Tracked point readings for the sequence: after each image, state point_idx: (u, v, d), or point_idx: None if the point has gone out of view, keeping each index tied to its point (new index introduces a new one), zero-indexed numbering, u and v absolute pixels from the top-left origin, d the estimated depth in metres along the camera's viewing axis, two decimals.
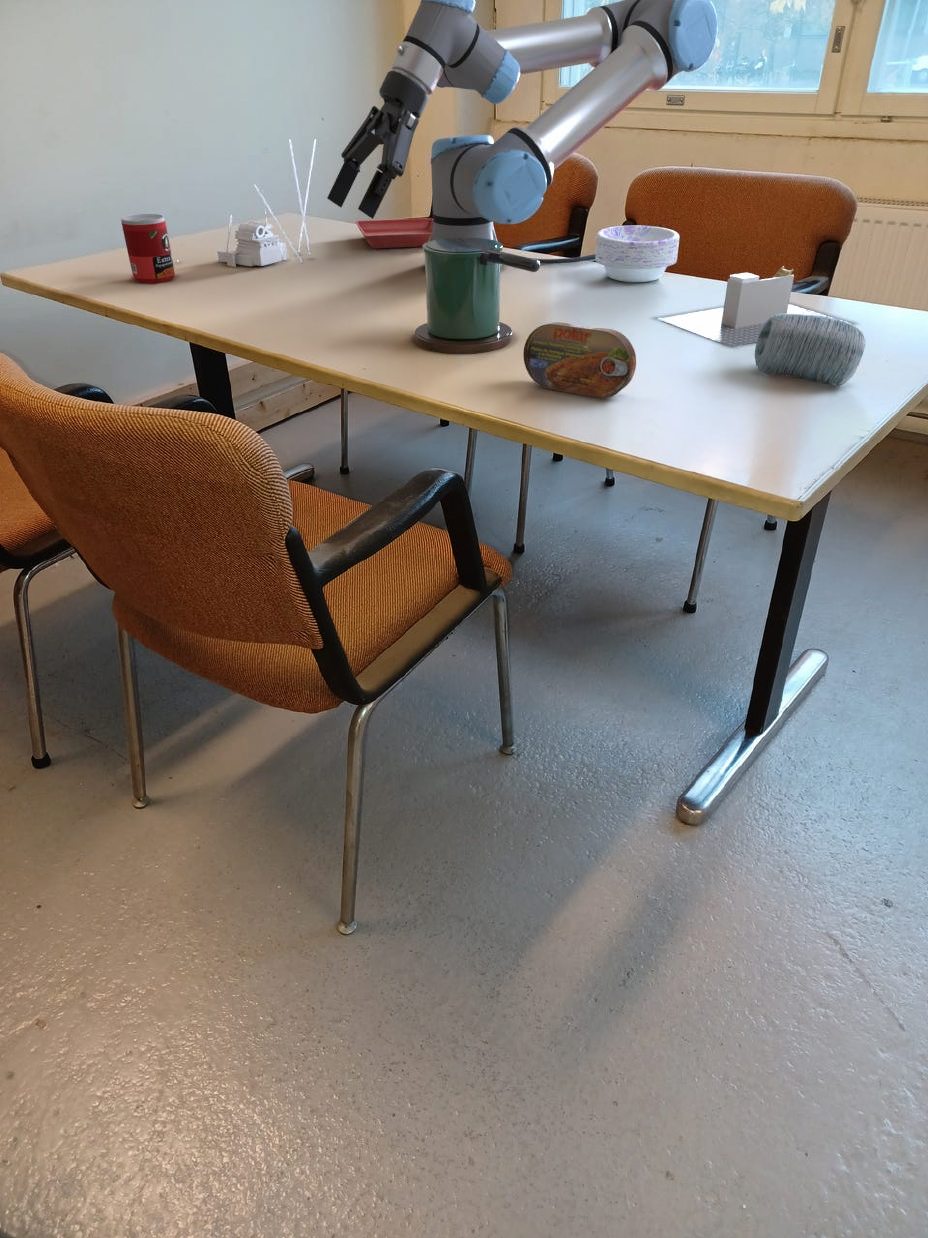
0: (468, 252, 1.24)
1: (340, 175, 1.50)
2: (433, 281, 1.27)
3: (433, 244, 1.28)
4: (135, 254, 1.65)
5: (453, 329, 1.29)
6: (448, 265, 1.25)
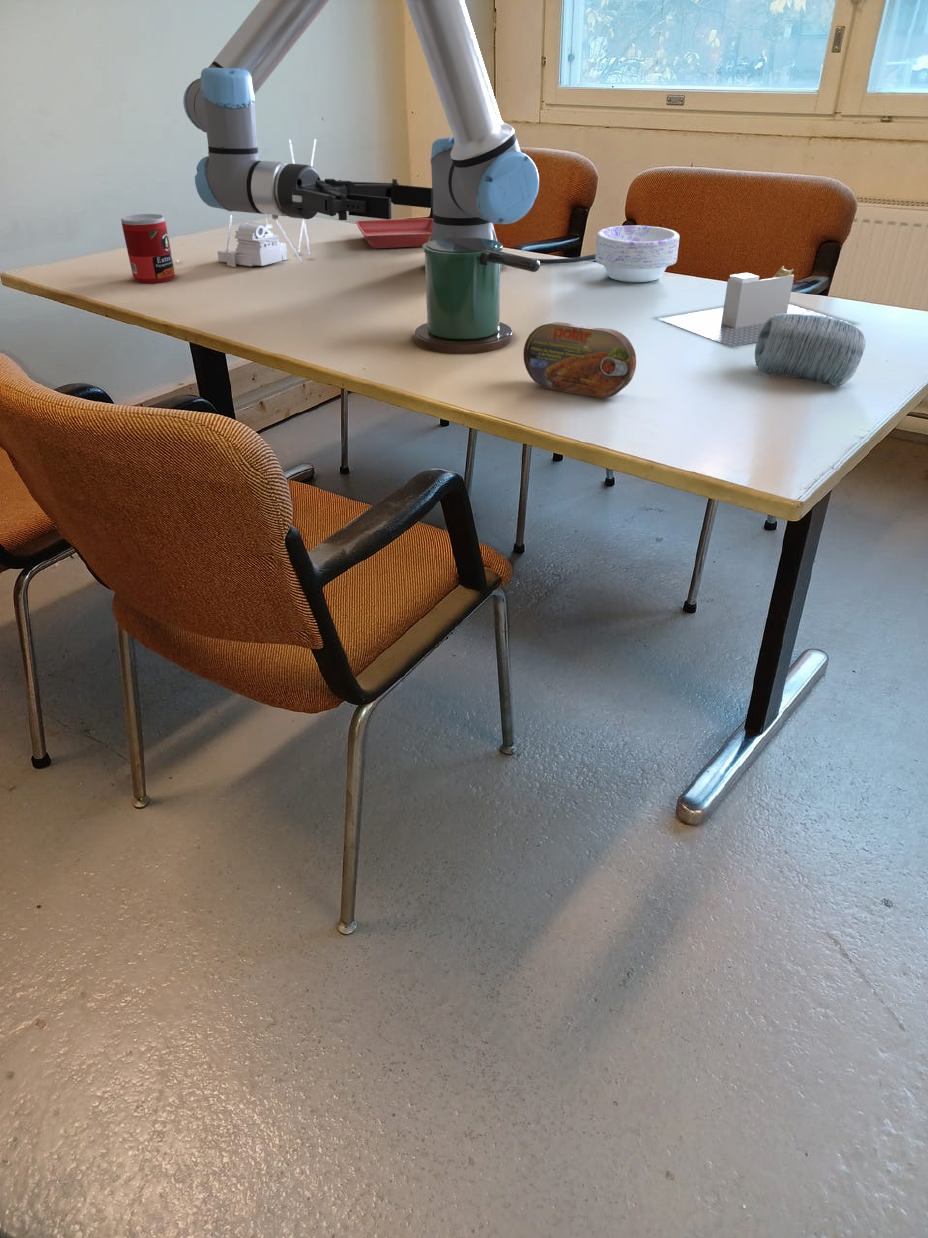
0: (468, 252, 1.24)
1: (406, 204, 1.36)
2: (433, 281, 1.27)
3: (433, 244, 1.28)
4: (135, 254, 1.65)
5: (453, 329, 1.29)
6: (448, 265, 1.25)
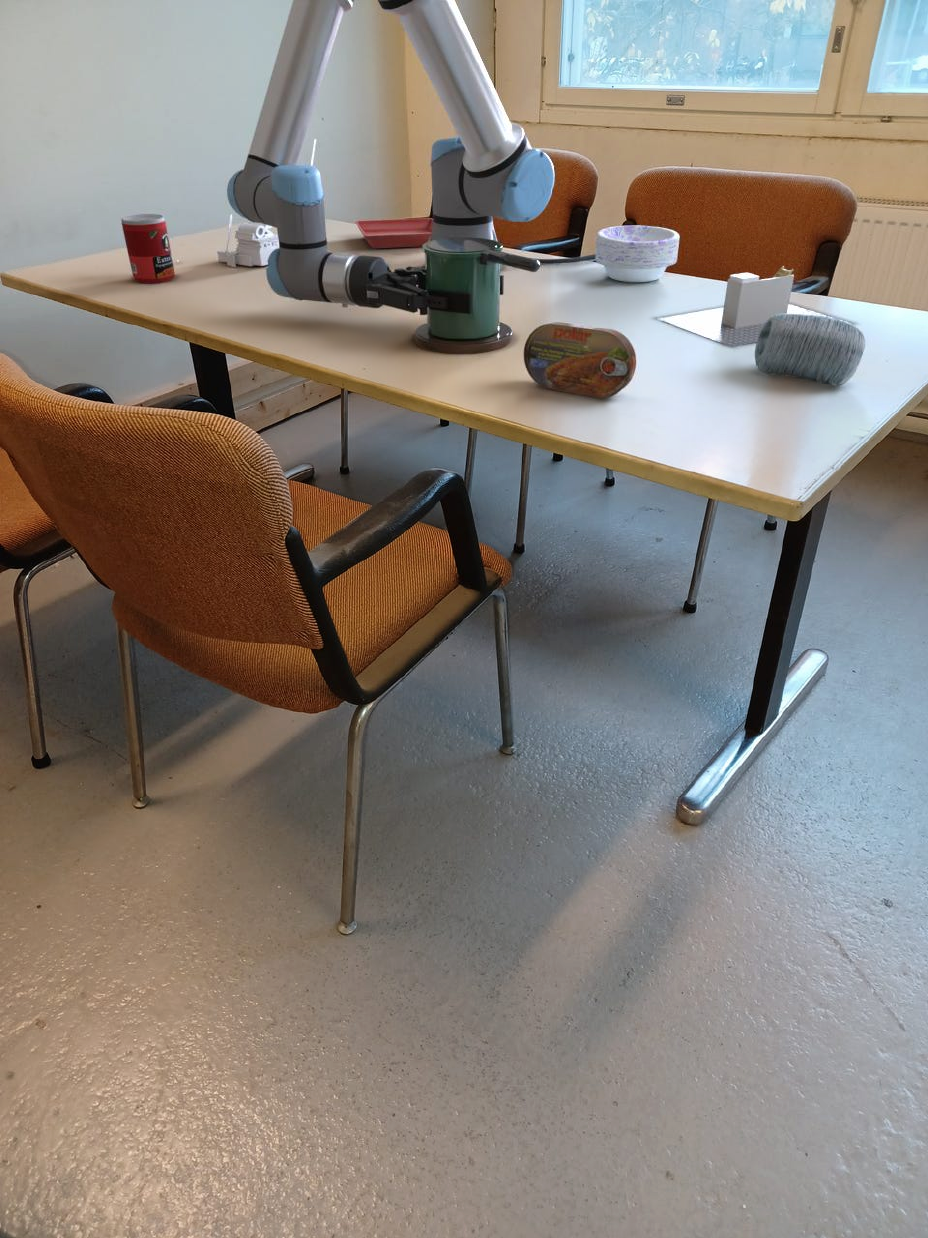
0: (468, 252, 1.24)
1: None
2: (433, 281, 1.27)
3: (433, 244, 1.28)
4: (135, 254, 1.65)
5: (453, 329, 1.29)
6: (448, 265, 1.25)
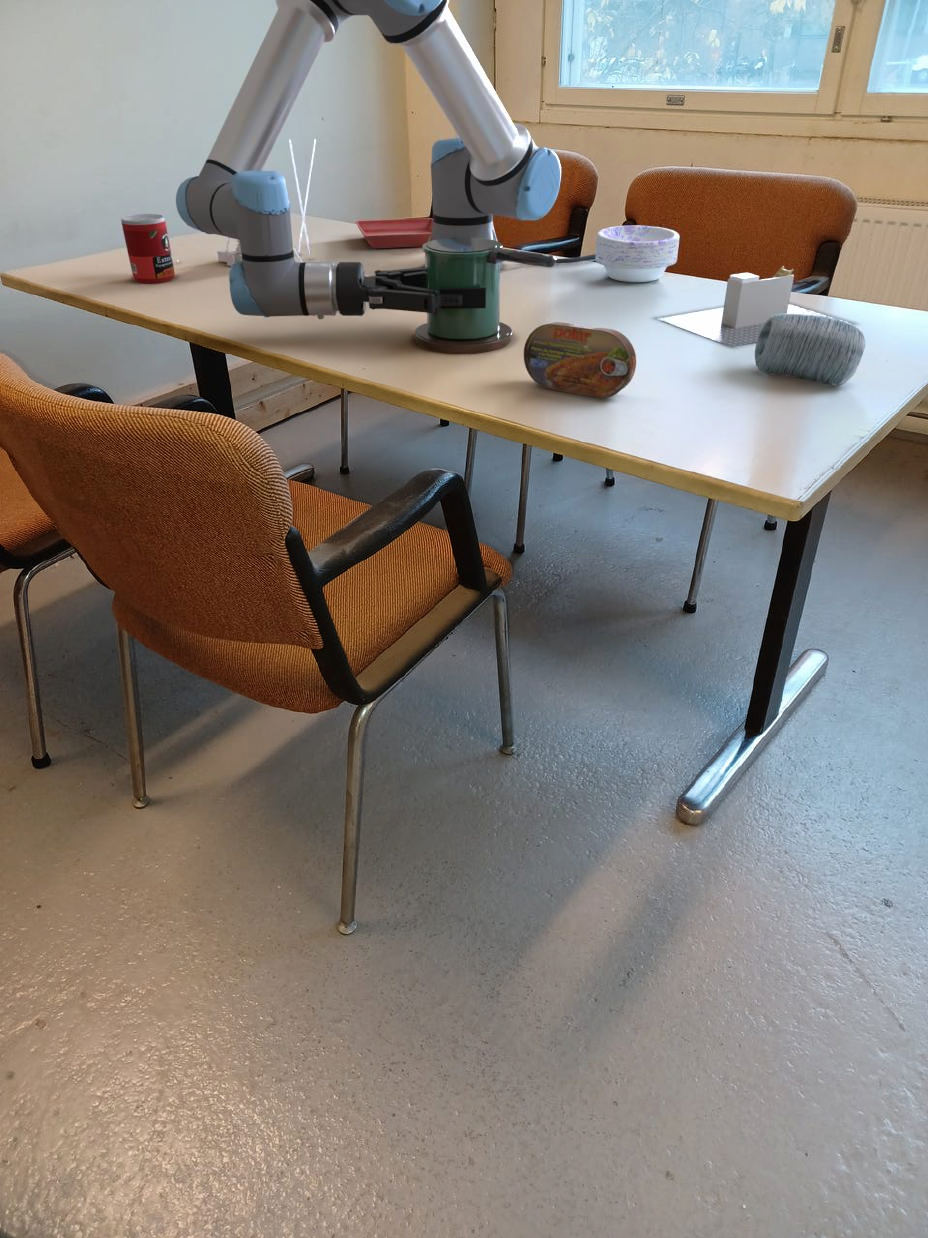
0: (476, 251, 1.24)
1: None
2: (439, 283, 1.27)
3: (433, 245, 1.27)
4: (135, 254, 1.65)
5: (461, 329, 1.29)
6: (457, 265, 1.24)
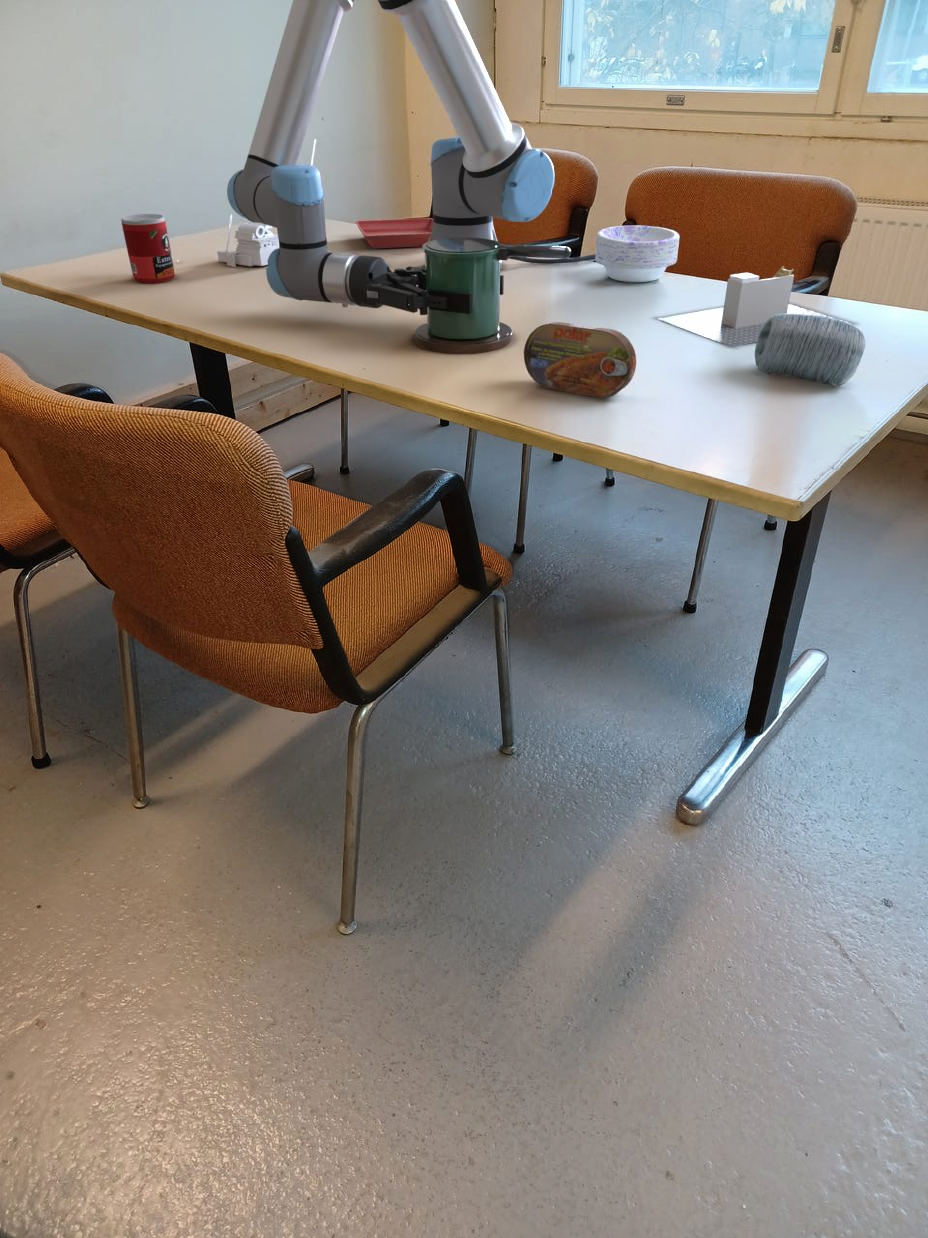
0: (488, 249, 1.25)
1: None
2: (453, 284, 1.26)
3: (438, 248, 1.26)
4: (135, 254, 1.65)
5: (476, 328, 1.30)
6: (473, 265, 1.25)
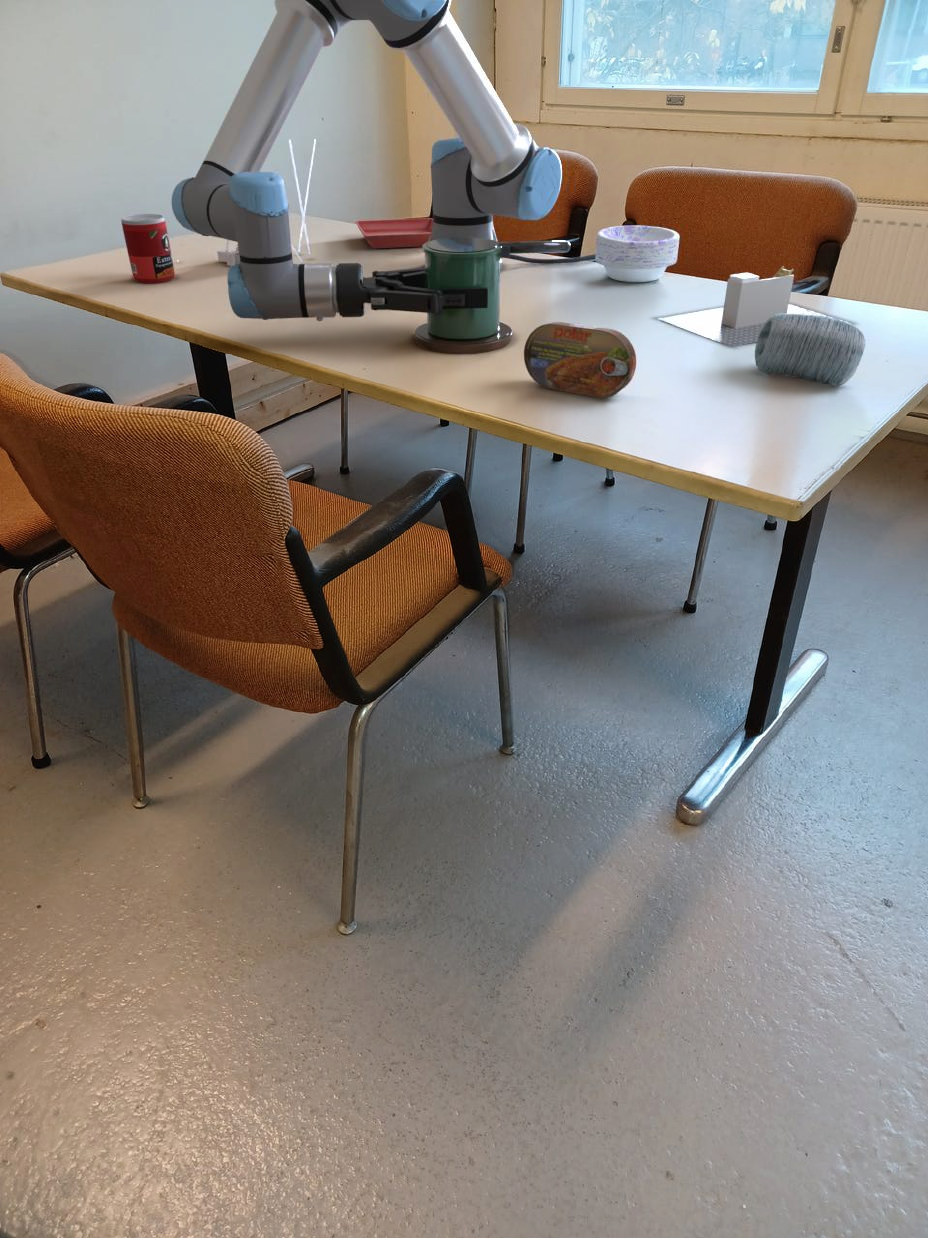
0: (494, 248, 1.26)
1: None
2: (464, 284, 1.26)
3: (443, 249, 1.25)
4: (135, 254, 1.65)
5: (485, 327, 1.30)
6: (483, 264, 1.25)
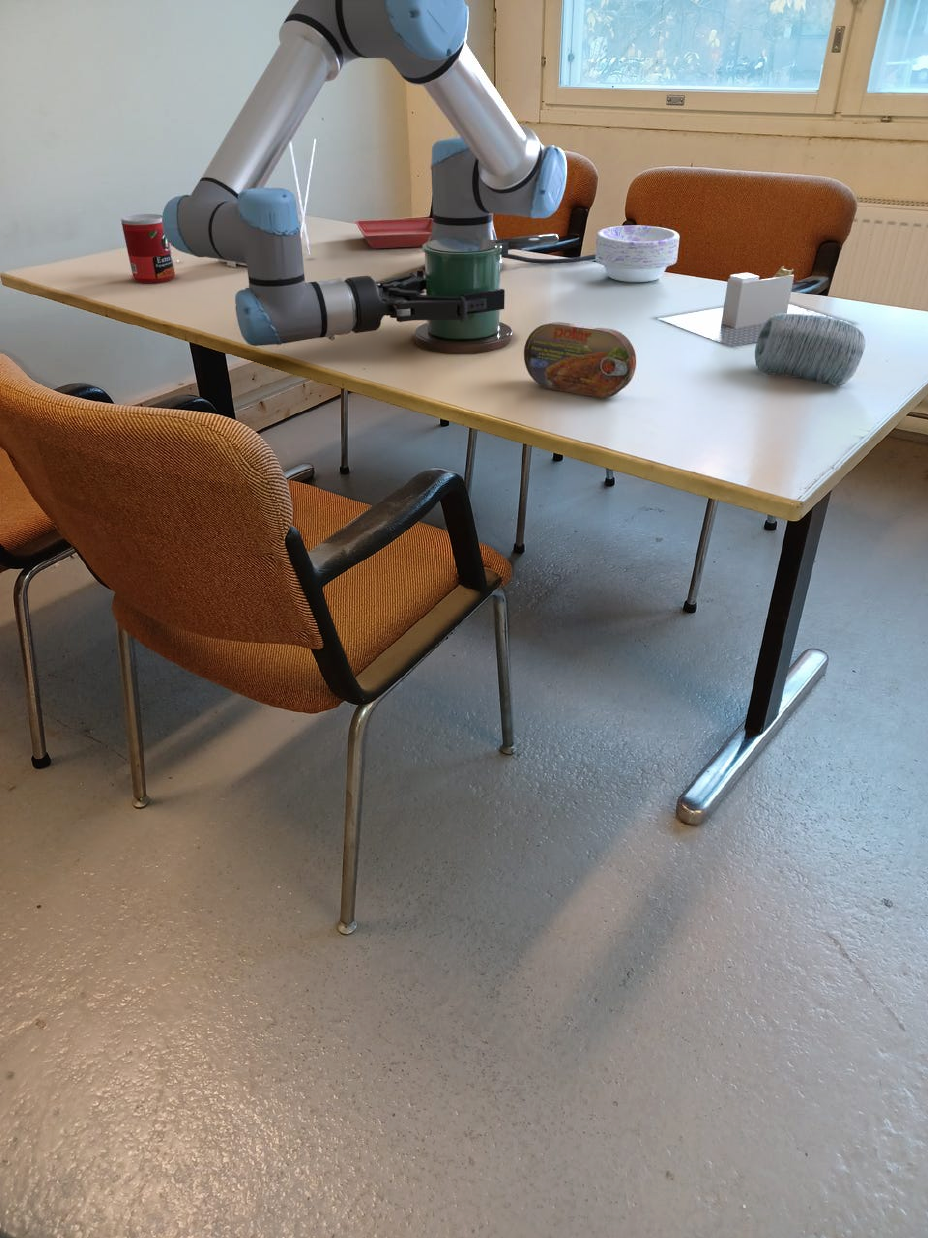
0: (497, 245, 1.27)
1: None
2: (478, 283, 1.26)
3: (452, 250, 1.25)
4: (135, 254, 1.65)
5: (494, 324, 1.31)
6: (493, 261, 1.26)
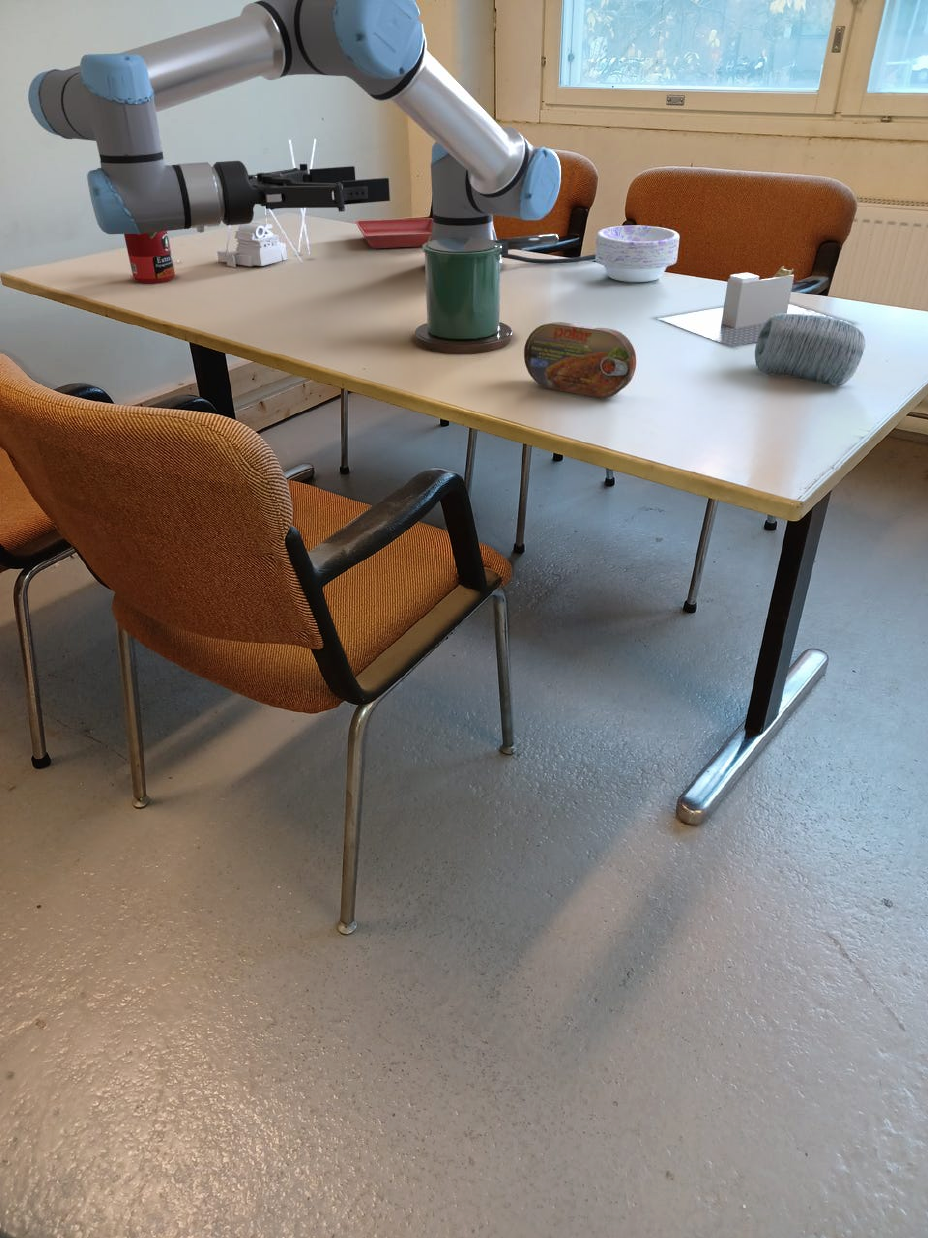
0: (497, 245, 1.27)
1: None
2: (478, 283, 1.26)
3: (452, 250, 1.25)
4: (135, 254, 1.65)
5: (494, 324, 1.31)
6: (493, 261, 1.26)
